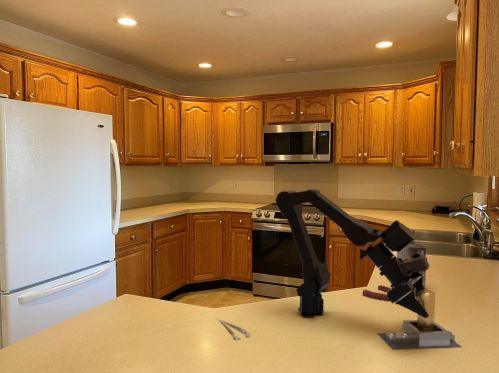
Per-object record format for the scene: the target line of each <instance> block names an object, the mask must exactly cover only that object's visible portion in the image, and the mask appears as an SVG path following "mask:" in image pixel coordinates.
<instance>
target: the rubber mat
mask: <svg viewBox="0 0 499 373" xmlns="http://www.w3.org/2000/svg"><path fill="white" fill-rule="evenodd" d="M386 333H387V332H378V333H376V334H377V335H378V337H379V338H381V339H382V341H384V343H385V344H386V345H387V346H389V348H391V349H392V350H394V351H395V350H398V351H399V350H420V349H421V350H424V349H427V350H429V349H453V348H463V345H462V346H461V344H459V343H458V342H456V341H455V342H450V347H423V348H419V347H418V346H417V345H416V344H414V343H395V344H391V343H390V342H389V341H388V340H387V339H386Z"/></svg>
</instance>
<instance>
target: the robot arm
mask: <svg viewBox="0 0 499 373" xmlns="http://www.w3.org/2000/svg"><path fill="white" fill-rule="evenodd" d="M306 203H309V204H311V206H313V207H314V208H315V209H317V210H318V211H320V213H322V214H323V215H324V216H326V218H328V219H329V220H330V221H331V222H333V223H335V224H336V225H337V226H338V227H339V228H340V229H341V231H342V233H343V234H344V236H345V237H346V238H347V239H348V240H349V241H350V243H352V244H353V245H354V246H356V247H363V246H365V245H368V244H369V243H370V244H369V245H368V246H367V247H365V248H360V249H359V260H363V259H365V258H366V257H367V258H368V259H369V260H370V261H371V262H372V264H374V266H375V267H376V268H377V269H378V271H380V272H379V273H378V274H379V275H380V276H381V277H383V276H384V277H385V278H386V280H388V282H389V283H390V288H391V289H390V290H389V291H388V292H387V293H386V294H387V298H388V299H389V300H390V301H389V302H391V304H395V305H397V306H401V307H402V308H405V309H407V310H409V311H410V312H413V313H415V314H418V315H420V316H422V317H424V318H427V317H428V316H429V315H428V313H427V311H426V310H425V308H424V307H423V305H422V304H421V303H420V301H419V300H418V290H427V288H426V286H425V287H424V284H423V283H424V276H422V275H423V272H422V271H429V268H430V266H431V265H430V264H429V261H428V257H427V256H426V257H425V255H421V254H420V253H419V252H417V253H414V254H413V255H412V259H409V260H406V261H404V260H403V259H402V258H397V255H395V254H394V253H393V252H396V253H397V252H400V251H401V250H403V249H404V248H405V247H406V246H408V245H411V244H412V243H413V242H414V241H415V240H416V239H417V237H416V234H415V233H414V232H413V231H412V230H411V229H410V228H409V227H408V226H407V225H405V224H404V223H402V222H400V221H399V220H398V219H396V220H394V221H393V222H392V223H391V224H390V225H389V226H388V227H386V229H385V230H381V229H377V228H374V227H373V226H372V225H370V224H369V223H367V222H365V221H363V220H362V219H359V218H357V217H355V216H352V215H351V214H348V213H347V212H346V211H345V210H343V209H342V208H341V207H339V206H338V205H337V204H336V203H334V202H333V201H332V200H330V199H329V198H328V197H327V196H325V195H324V194H322V193H321V192H320V190H319V189H317V188H316V189H315V188H312V189H310V188H309V189H307V190H304V191H303V190H302V191H297V190H283V191H280V192H279V193H278V194H277V195H276V198H275V204H276V206H277V209H278V210H279V213H280V214H281V215H283V217H284V218H285V220H287V222H288V226H289V228H290V231H291V234H292V237H293V239H294V243H295V245H296V249H297V251H298V254H299V257H300V260H301V264H302V273H301V274H302V281H303V282H302V284H300V285H299V286H298V287H297V288H296V289H295V290H296V293H297V296H298V297H299V307H298V308H297V311H299V313H300V315H301V317H302V318H315V317H317V316H319V317H320V316H321V317H323V316H324V307H325V306H324V302H325V300H324V298H323V295H322V293H323V292H324V290H325V288H327V287H328V286H329V284H330V282H331V277H330V276H331V273H330V271H329V269H328V264H327V263H326V262H324V263H322V262H321V261H320V260H319V259H318V256H317V254H316V251H315V249H314V246H313V242H312V241H311V237H310V234H309V231H308V229H307V225H306V224H305V223H306V222H305V220H304V217H303V208H304V207H303V204H306ZM380 239H381V240H380ZM378 240H380V241H379V242H378V243H374V242H377V241H378ZM419 276H422V277H421V278H419Z"/></svg>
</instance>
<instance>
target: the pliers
mask: <svg viewBox="0 0 499 373" xmlns="http://www.w3.org/2000/svg"><path fill="white" fill-rule="evenodd" d="M390 289H391V287H388V286H385V285H382V284H379V285H378V287H377V291H380V290H381V292H383V291H384V293H380V292H375V291H371V290H368V289H363V290H362V296H364V297H366V296H367V298H369V297H370V298H369V299H372V298H373V299H374V300H377V299H378V300H380V301H385V302H391V301H390V300H389V299H388V298H387V293H386V292H388V291H389V290H390Z"/></svg>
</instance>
